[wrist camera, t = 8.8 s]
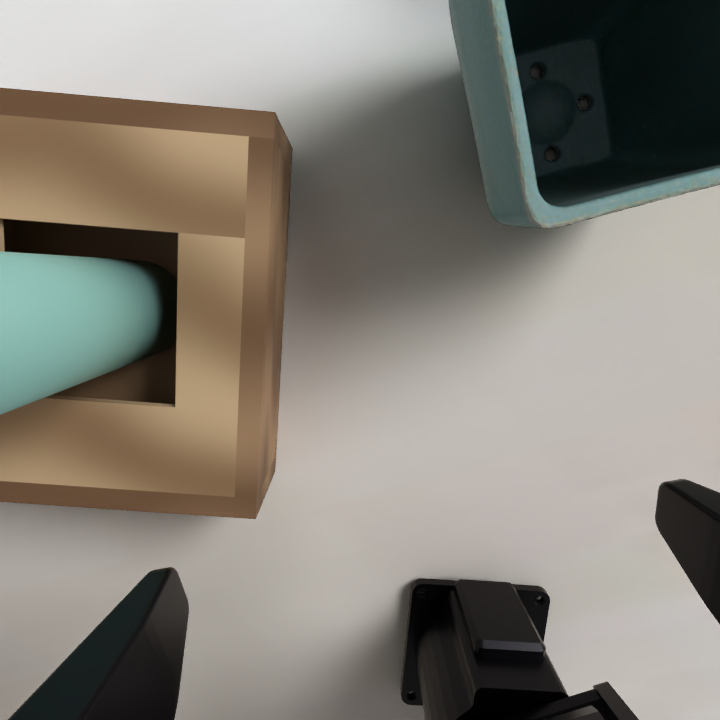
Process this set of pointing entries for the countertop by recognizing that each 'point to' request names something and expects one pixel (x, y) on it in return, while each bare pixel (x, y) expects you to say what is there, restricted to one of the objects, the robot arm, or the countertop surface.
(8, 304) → the dowel
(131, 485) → the brown wooden box
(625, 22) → the flower pot
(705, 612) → the countertop surface
